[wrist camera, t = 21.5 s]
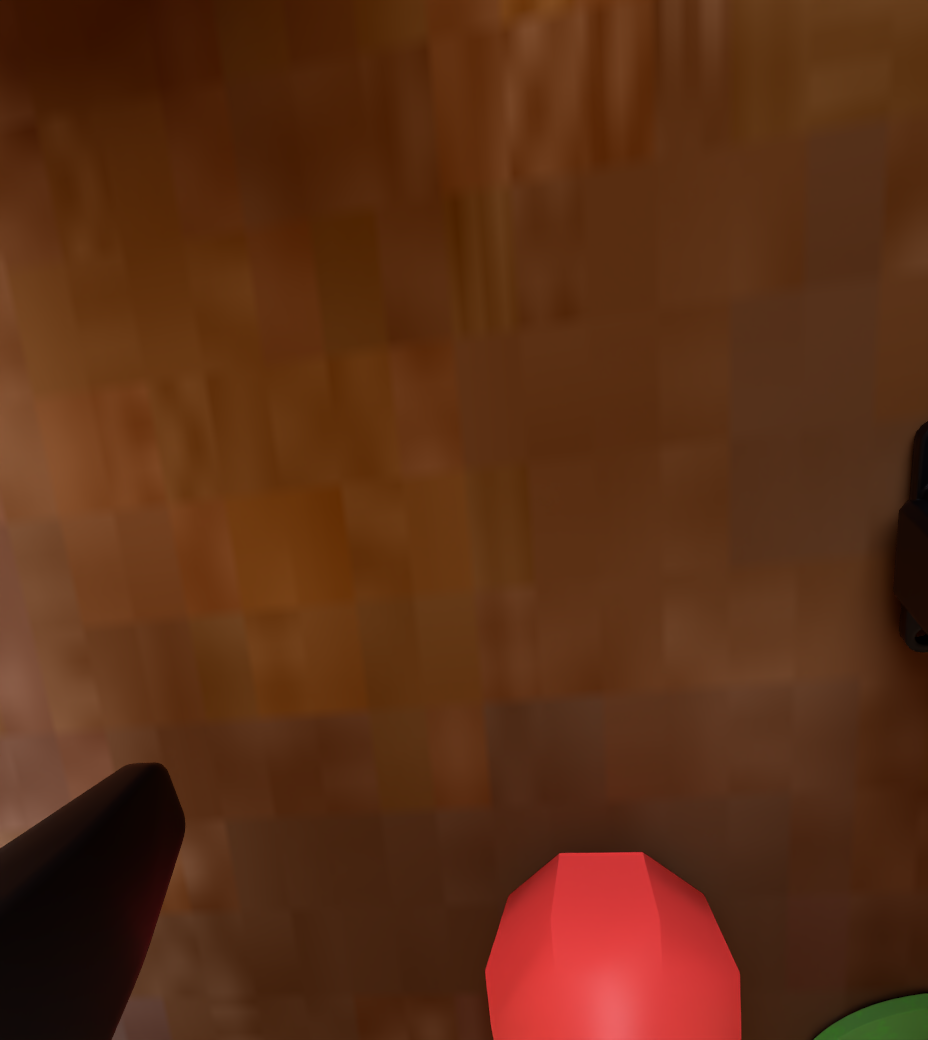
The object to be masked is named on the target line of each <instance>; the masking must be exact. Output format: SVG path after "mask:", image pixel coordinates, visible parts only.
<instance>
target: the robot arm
mask: <svg viewBox="0 0 928 1040" xmlns="http://www.w3.org/2000/svg"><path fill="white" fill-rule="evenodd" d="M893 591H894V594H895V596H896V597H897V598H898V599H899V600H900V602H901V614H900V627H899V632H900V636H901V638H902V639H903V640H904V642H905V643H906V644H907V645H908V647H909V648H910V649H912V650H914V651H916V652H928V421H927V422H926V423H924V424H923V425H922V426H921V427H920V428H919V430H918V431H917V432H916V436H915V439H914V451H913V463H912V476H911V488H910V501H907V502H906V503H905V504H904V506H903V507H902V508H901V509H900V510H899V520H898V533H897V547H896V560H895V574H894V587H893ZM922 629H923V630H924V631H925V633H926V634H925V635H923V636H919V637H916V636H915V635H916V633H917V632H918V631H920V630H922ZM184 833H185V817H184V813H183V810H182V807H181V805H180V802H179V799H178V797H177V794H176V791H175V789H174V786H173V783H172V781H171V778H170V775H169V773H168V771H167V769H166V768H165V767H164V766H163V765H162V764H159V763H136V764H129V765H126V766H124V767H122V768H121V769H119V770H118V771H116V772H115V773H113V774H112V775H110V776H109V777H107V778H106V779H104V780H103V781H101V782H100V783H98V784H97V785H95V786H94V787H92V788H91V789H89V790H88V791H86V792H85V793H83V794H82V795H80V796H79V797H77V798H76V799H74V800H72V801H71V802H69V803H68V804H66V805H65V806H63V807H62V808H60V809H59V810H57V811H56V812H54V813H53V814H51V815H50V816H48V817H47V818H45V819H44V820H42V821H41V822H39V823H38V824H36V825H35V826H33V827H32V828H30V829H29V830H27V831H26V832H24V833H23V834H21V835H20V836H18V837H17V838H15V839H14V840H12V841H11V842H9V843H8V844H6V845H5V846H3V847H2V848H0V1040H112V1037H113V1035H114V1033H115V1030H116V1028H117V1026H118V1023H119V1021H120V1019H121V1016H122V1014H123V1011H124V1009H125V1007H126V1004H127V1002H128V1000H129V997H130V995H131V993H132V990H133V988H134V985H135V983H136V980H137V978H138V975H139V973H140V970H141V968H142V965H143V962H144V959H145V957H146V954H147V951H148V948H149V945H150V942H151V939H152V936H153V933H154V930H155V926H156V923H157V920H158V917H159V914H160V911H161V907H162V904H163V901H164V898H165V895H166V892H167V889H168V885H169V882H170V879H171V876H172V873H173V870H174V866H175V863H176V860H177V857H178V854H179V851H180V848H181V844H182V841H183V838H184Z"/></svg>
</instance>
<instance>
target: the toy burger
mask: <svg viewBox="0 0 928 1040" xmlns="http://www.w3.org/2000/svg"><path fill="white" fill-rule="evenodd" d="M814 1040H928V993H926V994H918V995H912V996H906V997H901V998H896V999H892V1000H888V1001H885V1002H881V1003H878V1004H874V1005H872V1006H869V1007H866V1008H864V1009H861V1010H859V1011H857V1012H854V1013H852V1014H850V1015H848V1016H846V1017H844V1018H843V1019H841V1020H839V1021H837V1022H836V1023H834V1024H832V1025H831V1026H830V1027H828V1028H827V1029H825V1030H824V1031H823V1032H822V1033H820V1034H819V1035H818V1036H817V1037H816V1038H815V1039H814Z"/></svg>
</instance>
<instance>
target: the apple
mask: <svg viewBox="0 0 928 1040" xmlns="http://www.w3.org/2000/svg"><path fill="white" fill-rule="evenodd" d="M485 975H486V984H487V993H488V1003H489V1012H490V1021H491V1028H492V1033H493V1039H494V1040H741V995H740V972H739V970H738V968H737V965H736V963H735V961H734V959H733V957H732V955H731V952H730V950H729V948H728V946H727V944H726V942H725V939H724V937H723V935H722V933H721V931H720V929H719V926H718V924H717V922H716V920H715V918H714V915H713V913H712V911H711V909H710V907H709V905H708V902H707V900H706V898H705V896H704V894H703V893H701V892H700V891H698V890H697V889H695V888H694V887H693V886H691V885H690V884H688V883H687V882H685V881H684V880H682V879H681V878H679V877H678V876H677V875H675V874H674V873H672V872H671V871H669V870H668V869H666V868H665V867H663V866H662V865H661V864H659V863H658V862H656V861H655V860H653V859H652V858H650V857H649V856H647V855H646V854H645V853H643V852H613V853H559V854H558V855H557V856H556V857H554V858H553V859H552V860H551V861H550V862H548V863H547V864H546V865H545V866H543V867H542V868H541V869H540V870H539V871H537V872H536V873H535V874H534V875H533V876H531V877H530V878H529V879H528V880H527V881H525V882H524V883H523V884H522V885H521V886H519V887H518V888H517V889H516V890H515V891H513V892H512V893H511V894H510V895H509V896H508V899H507V902H506V906H505V909H504V912H503V915H502V918H501V922H500V925H499V928H498V931H497V934H496V938H495V941H494V944H493V947H492V950H491V953H490V957H489V960H488V963H487V966H486V969H485Z"/></svg>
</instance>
